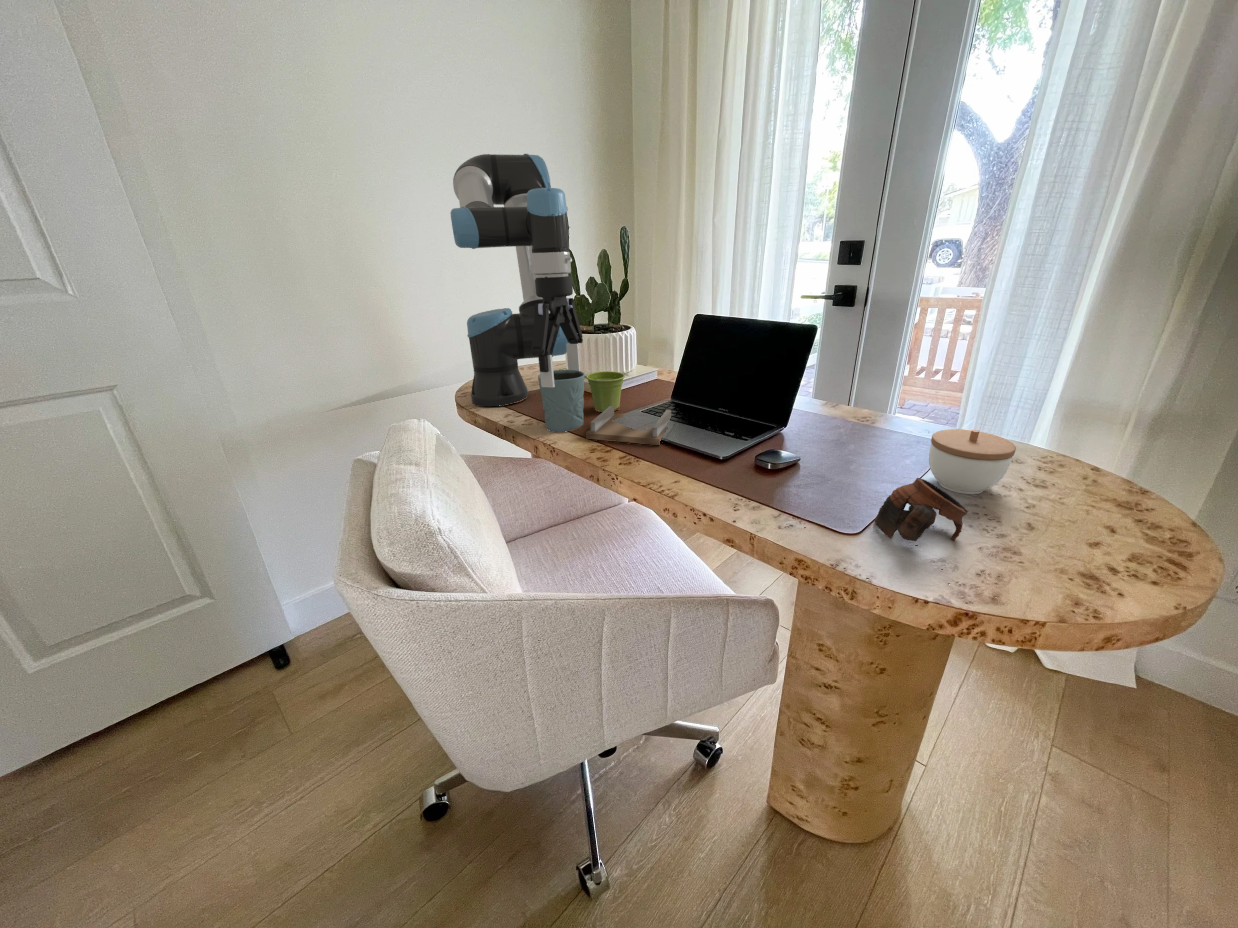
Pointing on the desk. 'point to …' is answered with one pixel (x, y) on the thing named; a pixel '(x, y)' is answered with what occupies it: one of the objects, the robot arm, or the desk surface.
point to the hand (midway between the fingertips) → (562, 379)
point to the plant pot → (606, 389)
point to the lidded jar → (969, 459)
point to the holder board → (626, 429)
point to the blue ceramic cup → (564, 401)
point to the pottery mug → (918, 510)
